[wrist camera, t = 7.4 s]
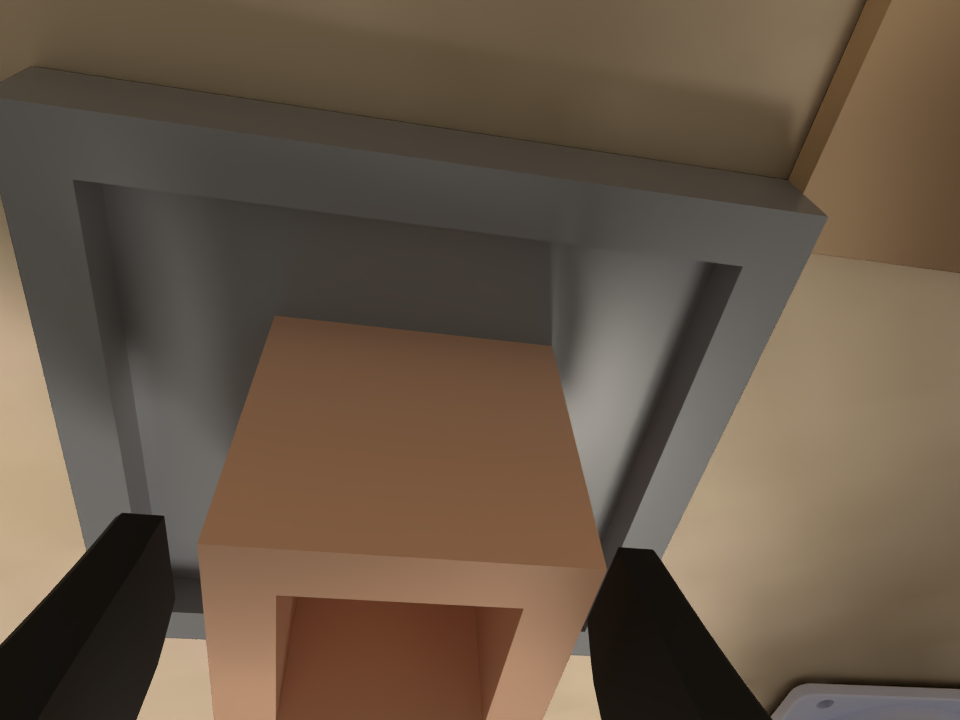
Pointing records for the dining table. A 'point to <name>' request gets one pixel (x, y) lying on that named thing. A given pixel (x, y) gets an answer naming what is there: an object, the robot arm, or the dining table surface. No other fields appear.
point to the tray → (372, 284)
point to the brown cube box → (397, 531)
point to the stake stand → (891, 140)
